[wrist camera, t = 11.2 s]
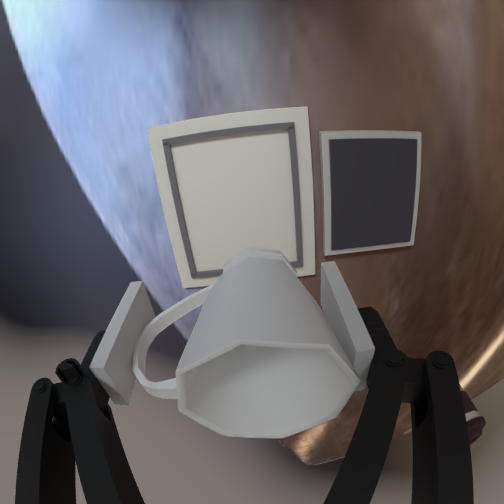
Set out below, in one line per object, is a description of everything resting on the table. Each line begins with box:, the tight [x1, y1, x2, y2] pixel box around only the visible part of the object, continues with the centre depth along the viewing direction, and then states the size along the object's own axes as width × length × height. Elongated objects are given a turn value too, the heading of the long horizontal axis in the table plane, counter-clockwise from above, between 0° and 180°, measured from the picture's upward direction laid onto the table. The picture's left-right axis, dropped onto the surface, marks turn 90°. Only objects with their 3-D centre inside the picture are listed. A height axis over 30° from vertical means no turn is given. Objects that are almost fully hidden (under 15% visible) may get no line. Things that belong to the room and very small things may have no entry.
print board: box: [147, 106, 315, 288], centre depth 29 cm, size 18×15×1 cm
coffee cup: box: [459, 384, 486, 444], centre depth 42 cm, size 10×10×15 cm
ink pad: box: [318, 130, 421, 256], centre depth 29 cm, size 13×11×1 cm
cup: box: [133, 247, 361, 438], centre depth 14 cm, size 7×10×8 cm
